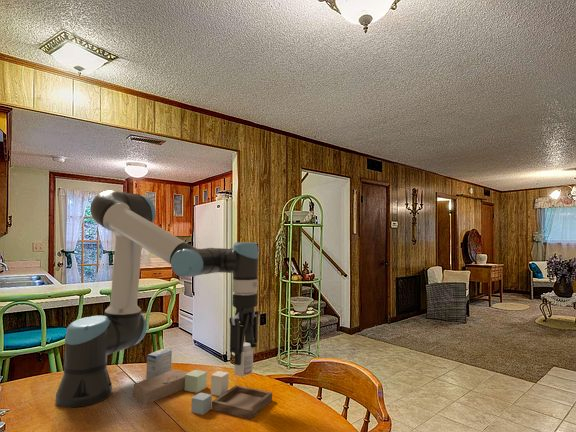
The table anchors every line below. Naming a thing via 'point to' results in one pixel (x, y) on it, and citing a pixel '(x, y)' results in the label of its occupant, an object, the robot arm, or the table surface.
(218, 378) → the cream block
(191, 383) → the sage block
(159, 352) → the medicine box
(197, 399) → the blue-grey block
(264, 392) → the tray
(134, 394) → the brick
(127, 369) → the table surface
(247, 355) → the pill bottle
